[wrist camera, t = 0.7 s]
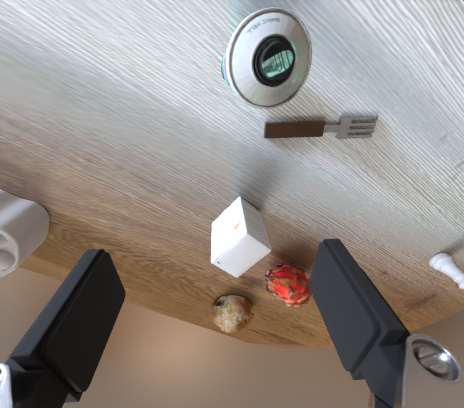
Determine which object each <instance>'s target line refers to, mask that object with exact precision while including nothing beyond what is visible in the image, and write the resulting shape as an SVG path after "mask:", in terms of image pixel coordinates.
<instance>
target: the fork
mask: <svg viewBox="0 0 464 408" xmlns="http://www.w3.org/2000/svg"><path fill="white" fill-rule="evenodd" d="M373 119H378V116H355V117H351V116H349V117H340V122H339V124H325V121H298V122H265V130H264V138H291V137H321V136H323V133H326V132H337V135H336V138H337V139H347V138H370V137H372V134H356V135H348V133H349V132H373V131H374V129H373V128H361V129H350V126H375V125H376V122H361V123H351V122H352V120H373Z"/></svg>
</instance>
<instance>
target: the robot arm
mask: <svg viewBox="0 0 464 408" xmlns="http://www.w3.org/2000/svg"><path fill="white" fill-rule="evenodd" d="M309 287H310V290H311V292H312V295H313V297H314V299H315V302H316V304H317V306H318V309H319V311H320V313H321V316H322V318H323V320H324V323H325V325H326V327H327V330H328V332H329V334H330V337H331V339H332V341H333V343H334V346H335V348H336V350H337V353H338V355H339V357H340V360H341V362H342V364H343V366H344V368H345V369H346V371H348V372H349V371H350V374H351V376H352V378H353V380H359V379H365V380H366V383H367V384H368V387H369V389H370V391H371V392H370V398H369V404H368V408H464V367H463V365H462V364H461V362H460V361H459V359H458V358H457V357H456V356H455V354H454V353H452V351H451V350H450V349H448V348H447V347H445V345H443V344H442V343H440V342H439V341H437V340H436V339H434V338H432V337H429V336H426V335H423V334H413V335H411V334H410V333H409V331H408V330H407V329H406V327H405V326H404V325H403V323H402V322H401V321H400V319H399V318H398V316H397V315H396V314H395V312H394V311H393V310H392V308H391V307H390V306H389V304H388V303H387V302H386V300H385V299H384V298H383V296H382V295H381V293H380V292H379V291H378V289H377V288H376V287H375V285H374V284H373V283H372V281H371V280H370V279H369V277H368V276H367V275H366V273H365V272H364V271H363V270H362V269H361V268H360V267H359V265H358V264H357V263H356V261H355V260H354V258H353V257H352V256H351V254H350V253H349V252H348V250H347V249H346V248H345V246H344V245H343V243H342V242H341V241H340V240H339V239H324V240H323V242H321V243H320V244H319V248H318V251H317V255H316V258H315V262H314V265H313V269H312V272H311V276H310V280H309ZM124 299H125V290H124V287H123V285H122V283H121V280H120V278H119V276H118V273H117V271H116V268H115V266H114V264H113V261H112V259H111V257H110V254H109V253H108V252H105V250H104V249H92V250H87V251H86V252H85V253H84V254H83V256H82V257H81V258H80V260H79V261H78V263H77V264H76V265H75V267H74V268H73V269H72V271H71V272H70V274H69V275H68V276H67V278H66V279H65V280H64V282H63V283H62V285H61V286H60V287H59V289H58V290H57V291H56V293H55V294H54V296H53V297H52V298H51V300H50V301H49V302H48V304H47V305H46V306H45V308H44V309H43V311H42V312H41V313H40V315H39V316H38V318H37V319H36V320H35V321H34V323H33V324H32V326H31V327H30V328H29V330H28V331H27V332H26V334H25V335H24V337H23V338H22V339H21V341H20V342H19V343H18V345H17V346H16V347H15V349H14V350H13V352H12V353H11V354H10V356H9V358H8V360H7V361H6V362H5V364H4V363H0V408H62V406H63V404H64V403H67V402H79V400H80V398H81V395H82V393H83V392H84V391H86V390H87V389H88V387H89V385H90V383H91V381H92V378H93V376H94V373H95V371H96V368H97V366H98V363H99V361H100V358H101V356H102V354H103V351H104V349H105V346H106V344H107V341H108V339H109V336H110V334H111V331H112V329H113V326H114V324H115V322H116V319H117V317H118V314H119V311H120V309H121V307H122V304H123V302H124Z"/></svg>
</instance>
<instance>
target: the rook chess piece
mask: <svg viewBox="0 0 464 408" xmlns="http://www.w3.org/2000/svg"><path fill="white" fill-rule="evenodd" d="M430 266H431V267H433V268H434V269H435V270H437V271H440V272H443V273H445V274H446V275H448V276H449V277H451V278H452V279H453V281H454V282H456V283H458V284H459V288H460V289H463V290H464V273H463V272H462V271H461V270H460V269H459V268H458V267H457V266H456V263H455V262H454V259H453V258H452V257H450V255H448V254H445V253H441V254H437V255H435V256H434V257H432V258H431V259H430Z"/></svg>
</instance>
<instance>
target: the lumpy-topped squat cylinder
mask: <svg viewBox="0 0 464 408" xmlns="http://www.w3.org/2000/svg"><path fill="white" fill-rule="evenodd" d="M49 223H50V218H49V214H48V213H47V211H46V210H45V209H44V208H43V207H42V206H41V205H40V204H38V203H36V202H33V201H29V200H26V199H22V198H19V197H17V196H14V195H12V194H10V193H8V192H6V191H3V190H0V277H1V276H4V275H6V274H8V273H10V272H11V271H13V270H14V269H16V268H17V267H18V266H19V265H20V264H21V263H22V262H23V261H24V260H25V259H26V258H27V257H28V256H29V255H30V254H31V253H32V252H33V251H35V250H36V249H37V248H38V247H39V246H40V245H41V244H42V243H43V242H44V241H45V239H46V237H47V234H48V231H49Z"/></svg>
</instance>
